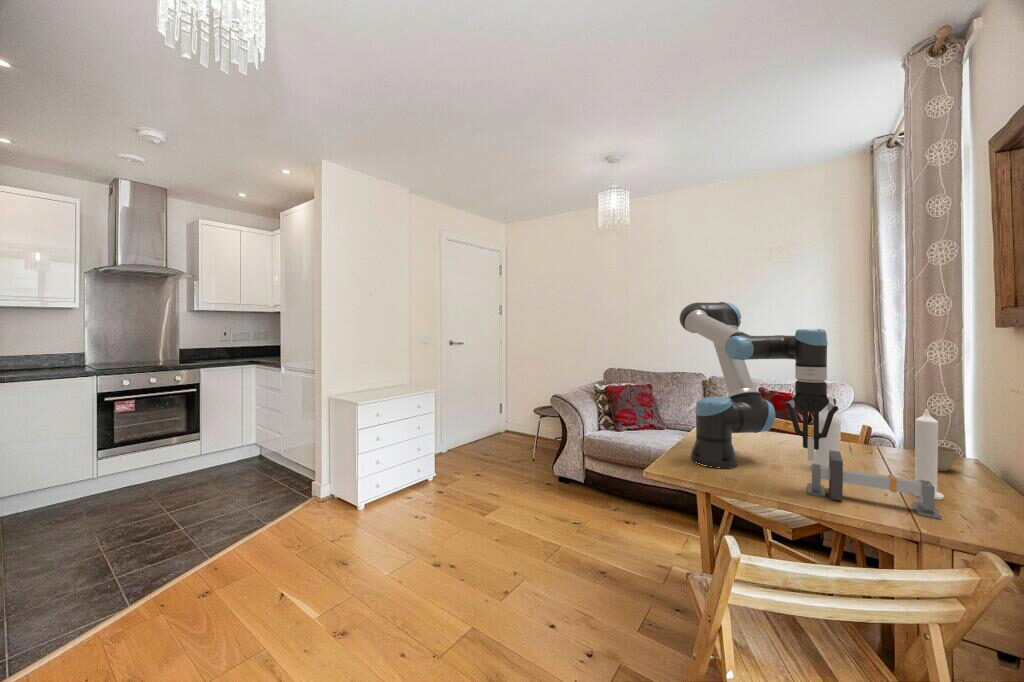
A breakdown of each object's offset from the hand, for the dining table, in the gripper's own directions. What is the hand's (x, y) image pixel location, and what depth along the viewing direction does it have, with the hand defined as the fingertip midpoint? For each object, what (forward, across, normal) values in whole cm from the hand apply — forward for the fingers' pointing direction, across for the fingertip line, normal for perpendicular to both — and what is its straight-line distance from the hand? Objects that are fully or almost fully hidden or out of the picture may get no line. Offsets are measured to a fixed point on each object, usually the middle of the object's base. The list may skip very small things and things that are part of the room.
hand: (810, 459), depth 118 cm
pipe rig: (+9, +13, 0) cm, 16 cm away
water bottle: (+10, +4, +25) cm, 27 cm away
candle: (+10, +27, +15) cm, 32 cm away
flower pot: (+10, +34, +48) cm, 59 cm away
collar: (+9, +6, 0) cm, 11 cm away
